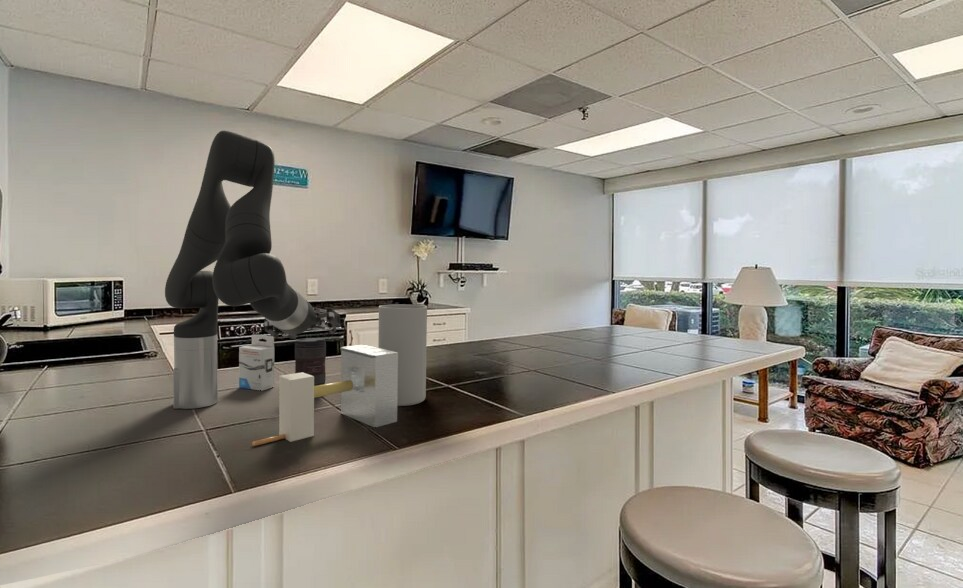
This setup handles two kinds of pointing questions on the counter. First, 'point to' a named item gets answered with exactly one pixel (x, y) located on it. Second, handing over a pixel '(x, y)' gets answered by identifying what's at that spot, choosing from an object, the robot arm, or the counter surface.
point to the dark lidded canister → (311, 358)
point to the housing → (370, 384)
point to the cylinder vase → (406, 348)
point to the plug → (300, 405)
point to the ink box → (257, 364)
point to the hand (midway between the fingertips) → (313, 331)
